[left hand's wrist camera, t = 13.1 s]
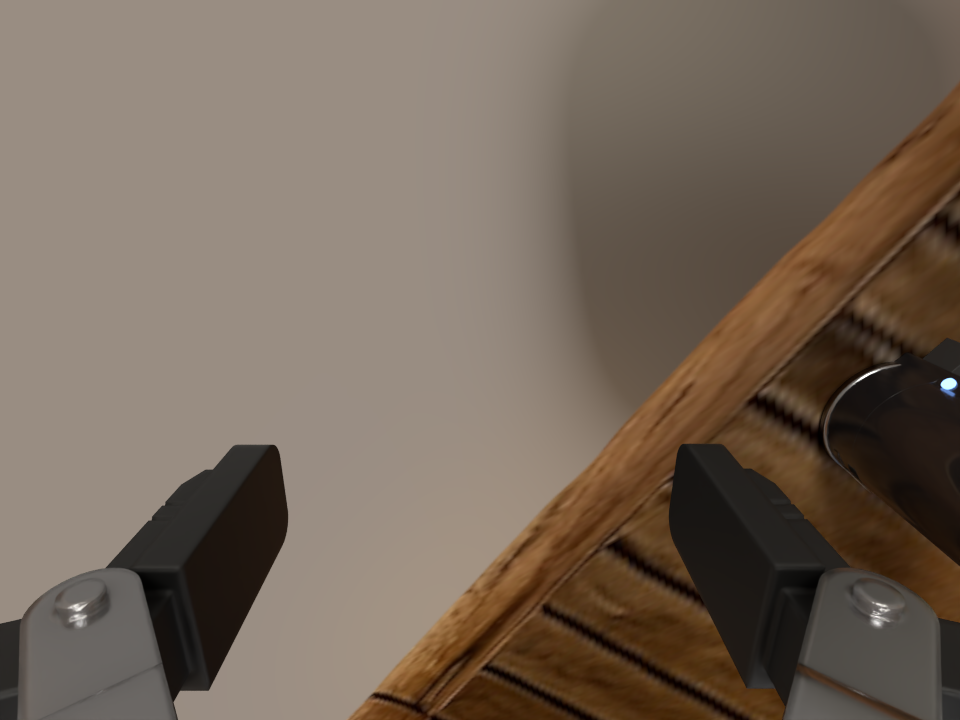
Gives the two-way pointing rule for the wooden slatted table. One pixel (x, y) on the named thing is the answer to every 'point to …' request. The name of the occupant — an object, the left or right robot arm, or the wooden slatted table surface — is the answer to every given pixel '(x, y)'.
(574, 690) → the wooden slatted table surface
